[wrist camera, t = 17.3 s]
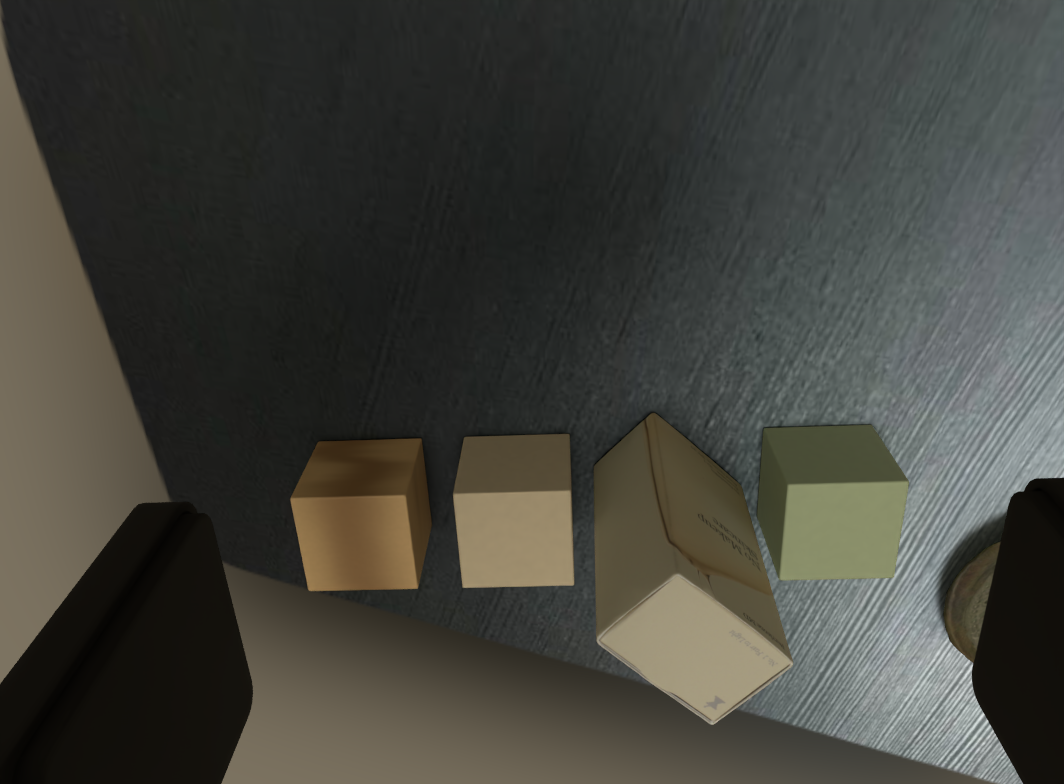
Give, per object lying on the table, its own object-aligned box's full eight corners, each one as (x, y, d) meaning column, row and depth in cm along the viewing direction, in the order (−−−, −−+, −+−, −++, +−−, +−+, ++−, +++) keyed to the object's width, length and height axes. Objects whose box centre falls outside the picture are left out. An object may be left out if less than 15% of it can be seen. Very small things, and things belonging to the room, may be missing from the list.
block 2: (472, 524, 44) (462, 588, 40) (463, 436, 42) (452, 493, 38) (572, 521, 44) (574, 586, 40) (569, 433, 42) (571, 490, 37)
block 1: (333, 527, 45) (308, 592, 40) (317, 440, 42) (289, 498, 38) (432, 525, 44) (418, 589, 40) (421, 437, 42) (405, 495, 38)
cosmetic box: (743, 483, 43) (805, 665, 32) (677, 540, 44) (715, 731, 34) (649, 406, 41) (681, 570, 30) (583, 467, 43) (592, 644, 32)
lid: (1158, 498, 44) (1228, 534, 39) (1128, 680, 46) (1191, 736, 41) (940, 490, 45) (982, 524, 40) (920, 670, 47) (957, 723, 42)
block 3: (756, 516, 44) (778, 581, 39) (763, 427, 42) (787, 484, 37) (859, 514, 44) (894, 578, 39) (872, 423, 41) (910, 481, 37)
